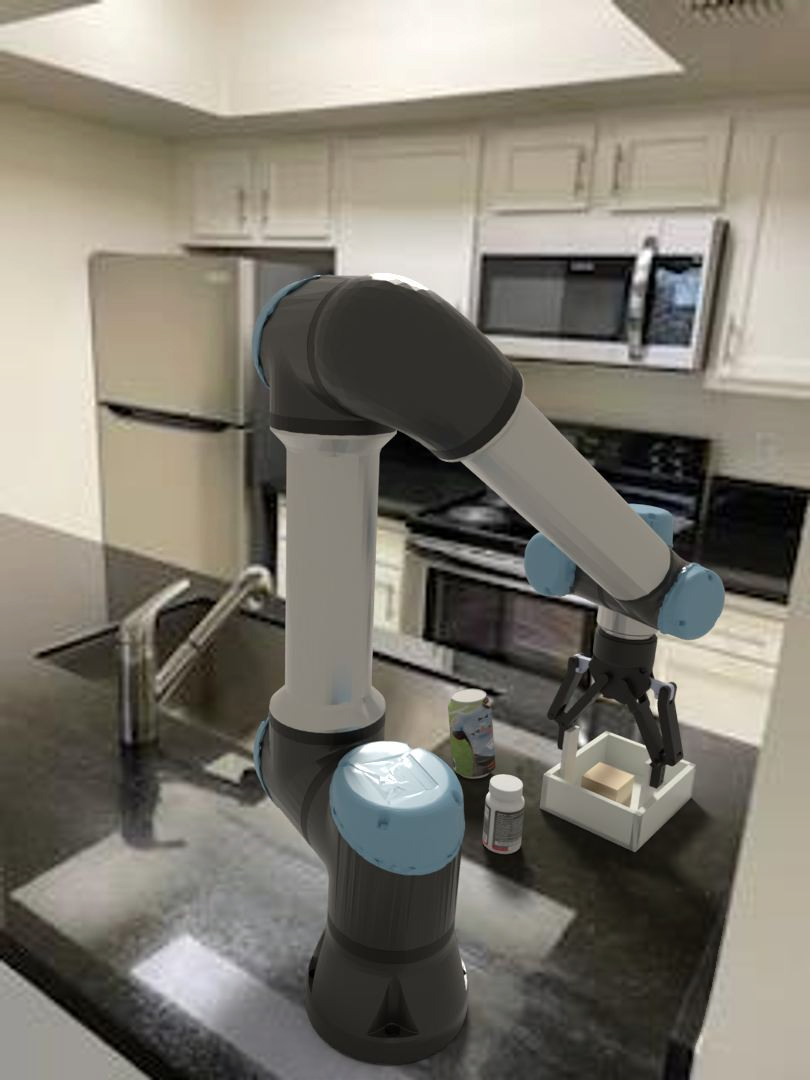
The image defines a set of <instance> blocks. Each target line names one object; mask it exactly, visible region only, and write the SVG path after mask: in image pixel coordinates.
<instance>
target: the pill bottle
mask: <svg viewBox="0 0 810 1080" xmlns="http://www.w3.org/2000/svg"><path fill="white" fill-rule="evenodd" d="M488 790H489V791H488V793H486V796H485V801H484V802H485V803H484V804H485V805H484V816H483V817H484V818H483V827H482V828H483V829H482V843H483V845H484V847H486V849H488V850H489V851H491V852H493V853H496V854H500V855H509V854H513V853H515V852H517V851H518V850H519V849H520V848H521V845H522V837H523V836H522V835H523V826H524V825H523V824H524V817H525V815H524V814H525V804H526V803H525V802H526V801H525V798H524V796H523V790H524V785H523V781H522V780H521V779H520V778H519V777H517V776H514V775H510V774H503V773H502V774H495V775H494V776H492V777H491V778H490V780H489V786H488Z"/></svg>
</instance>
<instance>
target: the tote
mask: <svg viewBox="0 0 810 1080" xmlns="http://www.w3.org/2000/svg"><path fill="white" fill-rule="evenodd" d="M649 759H650V756H649V754H648V751H647V749H646V746H645V744H642V743H640V742H637V741H634V740H632V739H628V738H626V737H623V736H621V735H618V734H615V733H613V732H611V731H608V730H605V731H604V732H602V733H601V734H600V735H598V736H597V737H595V738H594V739H593V740H590V741H589V742H588V743H587V744H585V745H583V746H582V747H581V748H579V749H577V753H576V761H575V768H574V772H572V773H571V774H569V775H568V776H566V777H565V778H563V777H561V776H559V773H560V765H561V761H560V762H559V763H557V764H556V765H554V766H553V767H552V768H550V769H549V770H547V771H546V772H545V773H543V774H542V781H541V782H542V783H541V790H540V791H541V793H540V800H539V801H540V803H539V809H540V810H542V811H545V812H547V813H549V814H552V815H553V816H555V817H558V818H560V819H562V820H565V821H566V822H568V823H571V824H573V825H574V826H577V827H579V828H581V829H583V830H586V831H589V832H591V833H592V834H594V835H597V836H598V837H601V838H603V839H604V840H608V841H609V842H611V843H614V844H616V845H618V846H619V847H623V848H624V849H627V850H629V851H631V852H632V853H633V852H634V853H637V851H638V850H639V849H640V848H642V846H643V845H644V844H645V843H646V842H647V841H649V839H651V837H652V836H653V835H655V834H656V833H657V832H658V831H659V830H660V829H661V828H662V827H663V826H664V825H665V824H666V823H667V822H668V821H669V820H670V819H671V818H672V817H673V816H674V815H675V814H676V813H677V812H679V810H680V809H681V808H683V806H684V805H686V803H687V802H689V801H690V800H691V798H692V796H693V789H694V784H695V777H696V770H697V764H695V763H693V762H690V761H688V760H686V759H682V760H681V761H679V762H678V763H677V764H676V765H675V766H669V765H666V768H665V774H664V781H663V783H662V785H661V786H659V787H658V788H657V789H656V788H655V791H654V796H653V797H652V798H651V799H650V800H649V801H647V802H646V803H645V804H644V805H643V806H642V807H641V808H640V809H638V804H639V797H640V791H641V784H642V777H643V771H644V764H645V762H646V761H648V760H649ZM599 762H601V763H604V764H606V765H609V766H611V767H614V768H616V769H619V770H621V771H624V772H626V773H629V774H632V775H634V784H633V791H632V798H631V806H630V808H629V807H626V806H624V805H622V804H619V803H617V802H615V801H612V800H610V799H608V798H606V797H603V796H601V795H599V794H596V793H594V792H592V791H589V790H587V789H585V788H582V787H581V780H582V775H583V774H585V773H586V772H587V771H589V770H590V769H591V768H593V767H594V766H595V765H596V764H598V763H599Z"/></svg>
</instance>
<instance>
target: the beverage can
mask: <svg viewBox="0 0 810 1080" xmlns="http://www.w3.org/2000/svg"><path fill="white" fill-rule="evenodd" d="M450 697H451V698H450V700H449V702H448V704H447V711H448V725H449V734H450V735H449V736H450V747H451V760H452V761H451V762H452V768H453V769H452V770H453V772H454V773H455V774H458V775H460V776H461V777H463V778H465V779H474V780H475V779H481V778H485V777H486V776H488V775H489V774H490V773H492V772H493V771H494V770H495V769H496V753H495V739H494V738H495V737H494V728H493V727H494V725H493V713H492V711H493V710H492V702H491V700H490V699H489V697H488V696H487V693H486V691H484V690H482V689H478V688H465V689H463V688H462V689H459V690H456V691H454V692H453V693H452V694H451V696H450Z"/></svg>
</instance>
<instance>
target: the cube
mask: <svg viewBox="0 0 810 1080" xmlns="http://www.w3.org/2000/svg"><path fill="white" fill-rule="evenodd" d="M633 784H634V775H632V774H629V773H626V772H624V771H621V770H619V769H616V768H614V767H611V766H609V765H606V764H604V763H601V762H599V763H598V764H596V765H595V766H594V767H593V768H591V769H590V770H589V771H587V772H586V773H585V774H583V775H582V780H581V787H582V788H585V789H587V790H589V791H592V792H594V793H596V794H599V795H601V796H603V797H606V798H608V799H610V800H612V801H615V802H617V803H619V804H622V805H624V806H626V807H629V808H630V806H631V798H632V791H633Z"/></svg>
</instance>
